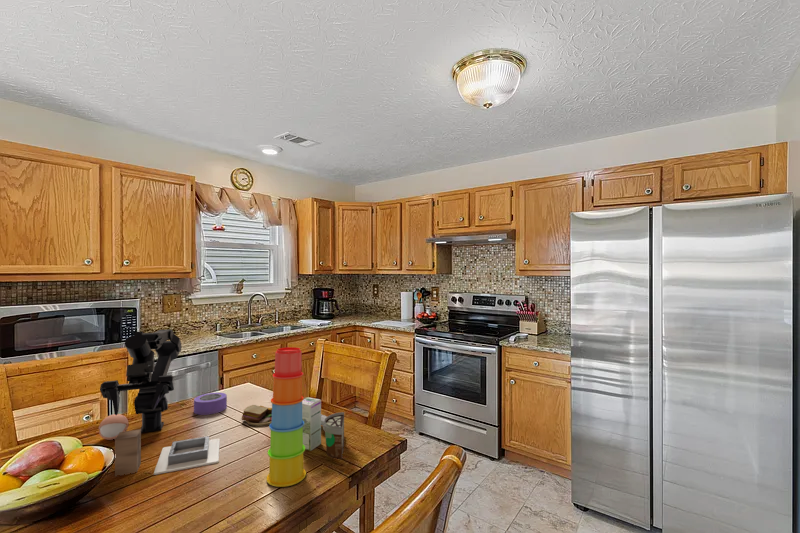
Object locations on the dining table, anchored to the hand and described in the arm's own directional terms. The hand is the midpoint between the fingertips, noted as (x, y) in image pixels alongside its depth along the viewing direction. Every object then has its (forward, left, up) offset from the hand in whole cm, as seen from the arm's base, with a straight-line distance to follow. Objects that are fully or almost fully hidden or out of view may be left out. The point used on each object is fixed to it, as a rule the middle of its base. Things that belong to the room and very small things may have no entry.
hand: (134, 412), depth 114 cm
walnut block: (+8, 0, -13) cm, 15 cm away
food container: (+21, +55, -14) cm, 60 cm away
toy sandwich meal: (-14, +37, -14) cm, 42 cm away
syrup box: (+14, +49, -14) cm, 53 cm away
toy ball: (-17, -9, -14) cm, 24 cm away
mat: (+6, +15, -13) cm, 21 cm away
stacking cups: (+30, +40, -14) cm, 52 cm away
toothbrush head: (+2, +55, -14) cm, 57 cm away
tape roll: (-33, +19, -14) cm, 41 cm away
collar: (+6, +15, -13) cm, 21 cm away
